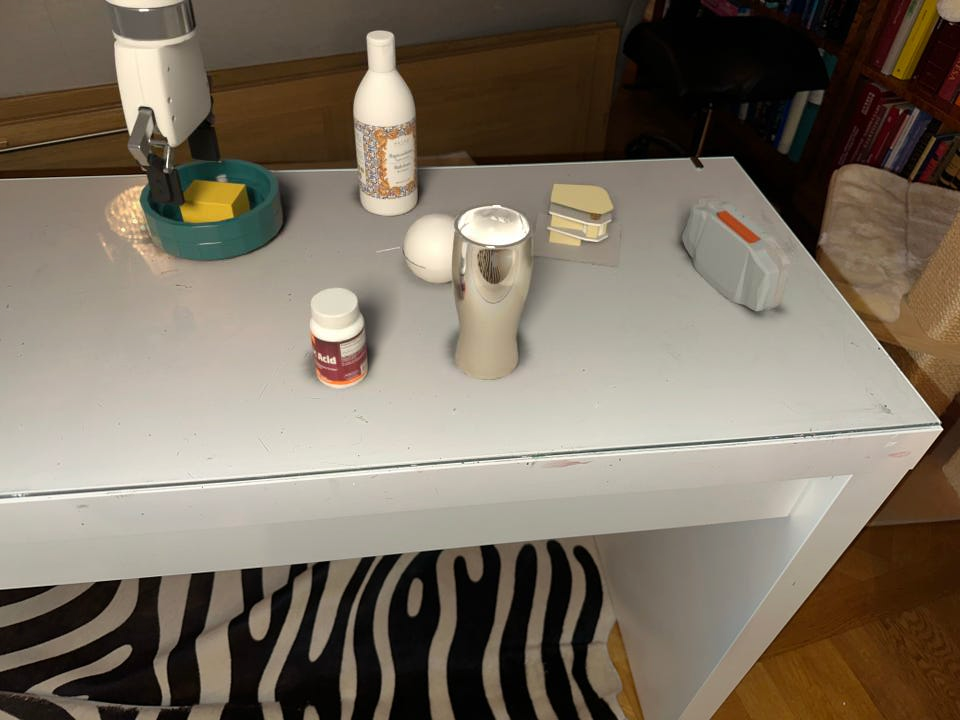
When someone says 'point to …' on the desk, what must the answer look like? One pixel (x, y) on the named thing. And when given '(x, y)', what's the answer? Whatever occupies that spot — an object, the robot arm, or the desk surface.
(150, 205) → the bowl
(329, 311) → the pill bottle
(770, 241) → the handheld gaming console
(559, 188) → the stacked layers on plate
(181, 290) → the desk surface
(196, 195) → the sponge
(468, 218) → the beer glass
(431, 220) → the lollipop
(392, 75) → the bath foam
